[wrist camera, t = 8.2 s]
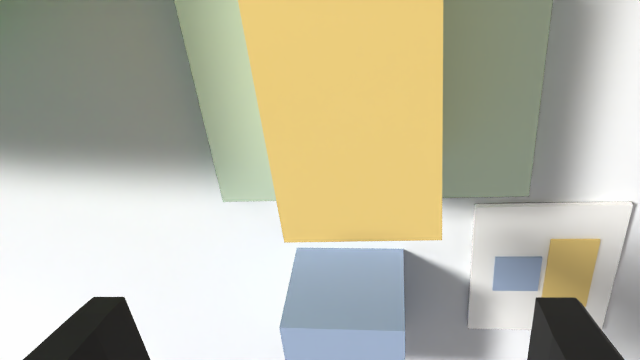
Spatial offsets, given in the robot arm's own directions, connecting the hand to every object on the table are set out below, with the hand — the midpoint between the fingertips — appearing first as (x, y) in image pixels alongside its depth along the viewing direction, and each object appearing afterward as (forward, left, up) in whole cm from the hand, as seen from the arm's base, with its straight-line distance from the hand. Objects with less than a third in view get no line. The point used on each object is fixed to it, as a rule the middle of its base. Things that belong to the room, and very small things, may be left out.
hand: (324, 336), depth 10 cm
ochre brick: (+2, 0, -8) cm, 9 cm away
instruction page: (-7, -6, -9) cm, 13 cm away
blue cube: (-8, +1, -9) cm, 12 cm away
